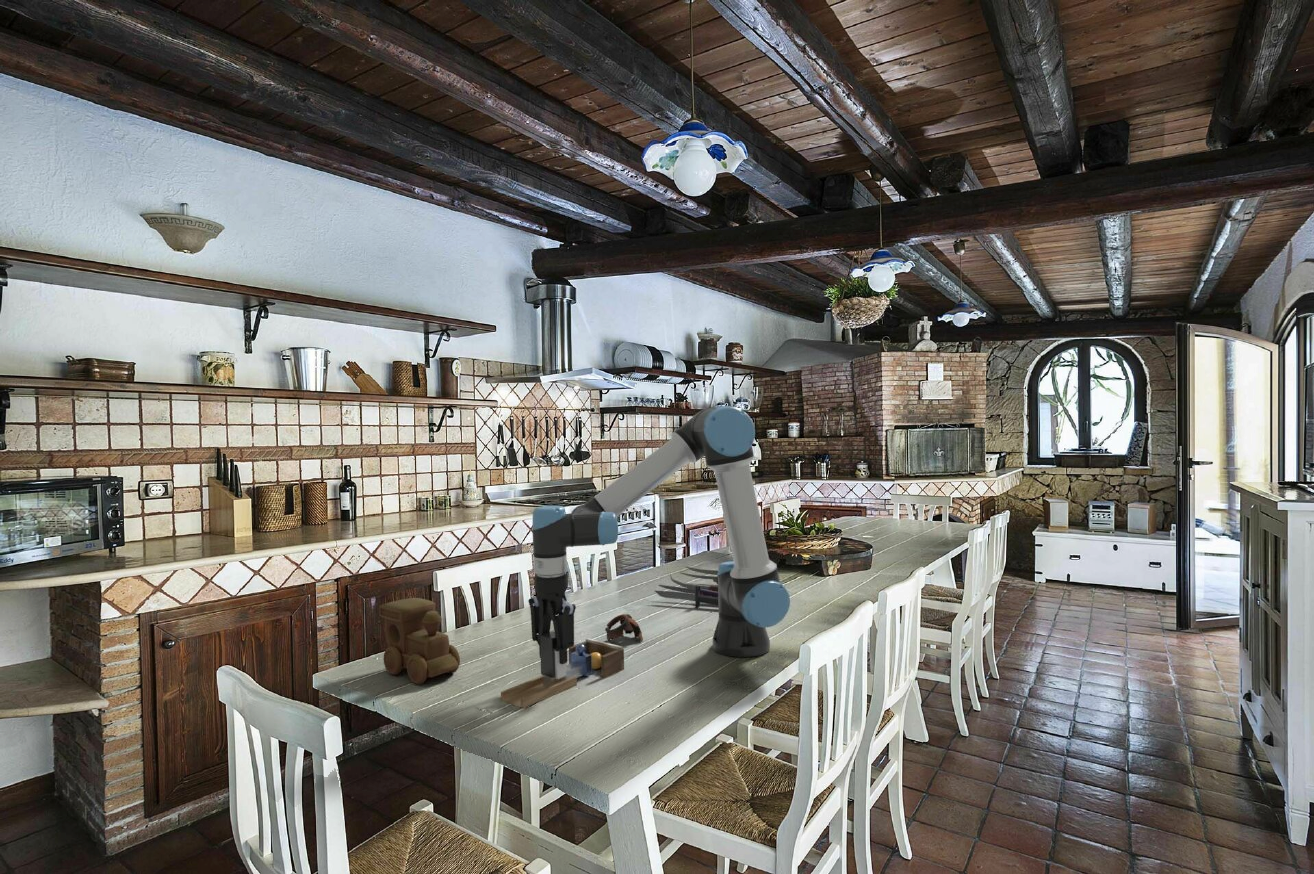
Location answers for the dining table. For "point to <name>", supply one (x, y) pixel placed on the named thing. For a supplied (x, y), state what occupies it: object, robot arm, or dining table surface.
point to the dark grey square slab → (575, 669)
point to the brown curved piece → (623, 627)
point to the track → (534, 691)
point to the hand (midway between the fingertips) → (553, 674)
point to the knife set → (694, 589)
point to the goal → (604, 655)
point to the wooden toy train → (416, 640)
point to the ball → (596, 660)
